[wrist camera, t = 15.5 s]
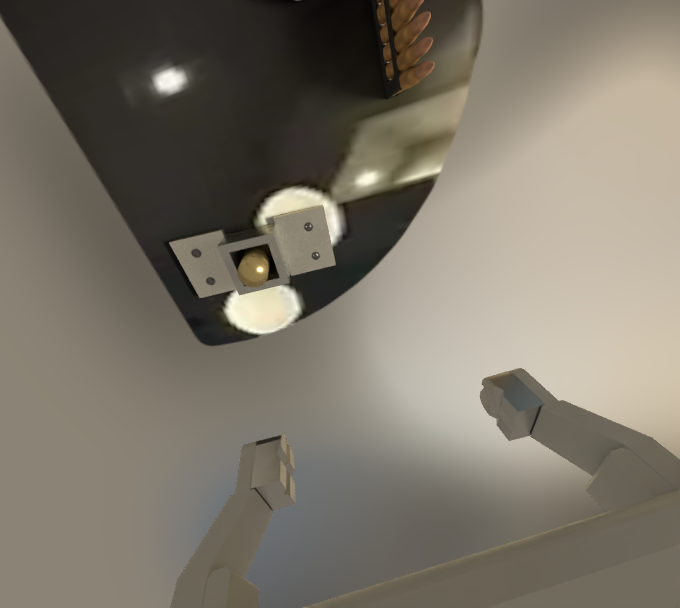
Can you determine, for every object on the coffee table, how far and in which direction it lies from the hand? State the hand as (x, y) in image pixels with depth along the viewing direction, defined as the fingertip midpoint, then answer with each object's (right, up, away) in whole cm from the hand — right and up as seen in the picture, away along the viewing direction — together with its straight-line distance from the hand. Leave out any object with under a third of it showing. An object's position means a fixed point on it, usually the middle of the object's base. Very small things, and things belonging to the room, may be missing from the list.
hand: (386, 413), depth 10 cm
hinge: (-15, +13, +33) cm, 39 cm away
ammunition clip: (+4, +37, +23) cm, 44 cm away
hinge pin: (-15, +13, +33) cm, 39 cm away
